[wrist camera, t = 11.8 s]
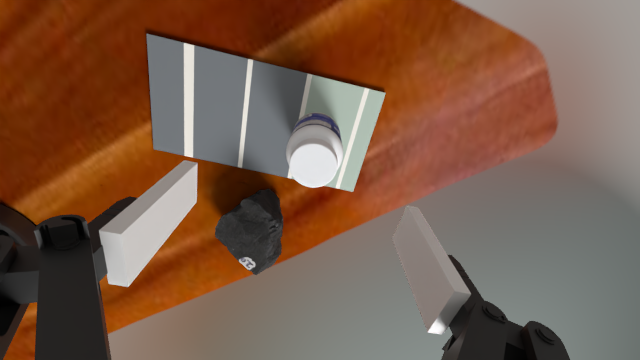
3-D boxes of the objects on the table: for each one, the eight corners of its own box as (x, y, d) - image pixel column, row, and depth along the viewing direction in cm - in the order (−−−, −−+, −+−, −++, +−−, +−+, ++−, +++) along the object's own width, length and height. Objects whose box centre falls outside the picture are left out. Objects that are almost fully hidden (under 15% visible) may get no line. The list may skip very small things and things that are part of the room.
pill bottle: (339, 157, 30) (344, 195, 22) (294, 156, 30) (283, 195, 22) (340, 110, 28) (346, 135, 20) (291, 110, 28) (278, 135, 20)
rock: (313, 229, 36) (311, 259, 30) (267, 259, 38) (257, 291, 33) (261, 176, 32) (249, 199, 27) (214, 213, 35) (195, 240, 30)
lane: (155, 147, 31) (153, 149, 30) (149, 33, 25) (146, 33, 25) (352, 190, 33) (353, 191, 32) (384, 92, 27) (385, 93, 27)
